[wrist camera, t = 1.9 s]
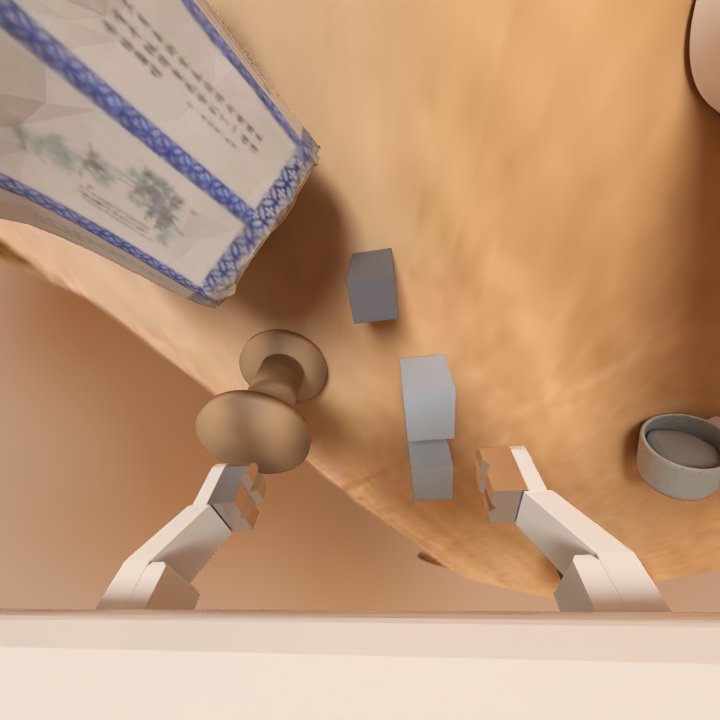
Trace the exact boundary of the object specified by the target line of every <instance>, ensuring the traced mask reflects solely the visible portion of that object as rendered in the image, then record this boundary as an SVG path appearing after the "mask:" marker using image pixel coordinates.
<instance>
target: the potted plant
mask: <svg viewBox="0 0 720 720" xmlns="http://www.w3.org/2000/svg"><path fill="white" fill-rule="evenodd" d="M319 149H320V146H318V145H317V144H316V143H315V141H314V140H313V138H312V137H311V136H310V134H309V133H308V132H307V131H306V129H305V128H304V127H303V126H302V125H301V124H300V122H299V121H298V120H297V119H296V118H295V116H294V115H293V114H292V113H291V112H290V110H289V109H288V108H287V107H286V106H285V104H284V103H283V102H282V101H281V100H280V98H279V97H278V96H277V95H276V93H275V92H274V91H273V90H272V88H271V87H270V86H269V85H268V83H267V82H266V81H265V80H264V78H263V77H262V76H261V75H260V73H259V72H258V71H257V70H256V68H255V67H254V66H253V64H252V63H251V62H250V60H249V59H248V58H247V56H246V55H245V54H244V52H243V51H242V49H241V48H240V47H239V45H238V44H237V43H236V41H235V40H234V39H233V37H232V36H231V34H230V33H229V32H228V30H227V29H226V28H225V26H224V25H223V23H222V22H221V21H220V19H219V18H218V17H217V15H216V14H215V12H214V11H213V10H212V8H211V7H210V5H209V4H208V3H207V1H206V0H0V218H1V219H5V220H10V221H15V222H20V223H25V224H29V225H31V226H34V227H36V228H39V229H41V230H44V231H47V232H49V233H52V234H54V235H57V236H60V237H62V238H64V239H66V240H69V241H71V242H73V243H75V244H77V245H80V246H82V247H84V248H86V249H88V250H90V251H93V252H95V253H97V254H99V255H101V256H103V257H105V258H107V259H109V260H111V261H113V262H115V263H117V264H119V265H121V266H122V267H124V268H126V269H128V270H130V271H132V272H134V273H136V274H138V275H141V276H142V277H144V278H146V279H148V280H150V281H152V282H154V283H156V284H158V285H159V286H162V287H164V288H166V289H168V290H170V291H173V292H175V293H177V294H179V295H181V296H183V297H185V298H187V299H189V300H191V301H193V302H195V303H198V304H202V305H205V306H208V307H212V308H215V306H216V305H220V304H221V303H222V302H223V301H224V300H225V299H226V298H228V297H230V296H232V295H234V294H235V291H236V287H237V284H238V281H239V280H240V278H241V276H242V275H243V273H244V272H245V270H246V268H247V267H248V265H249V263H250V262H251V260H252V259H253V257H254V256H255V255H256V253H257V252H258V250H259V249H260V248H261V246H262V245H263V244H264V242H265V241H266V240H267V238H268V237H269V235H270V234H271V233H272V232H273V231H274V230H275V229H276V228H277V227H278V226H279V225H280V224H281V223H283V222H284V221H285V219H286V218H287V216H288V214H289V213H290V211H291V209H292V208H293V206H294V204H295V202H296V199H297V196H298V193H299V192H300V190H301V189H302V187H303V186H304V184H305V183H306V181H307V179H308V177H309V175H310V173H311V171H312V169H313V167H314V166H316V165H318V164H319V158H320V150H319Z"/></svg>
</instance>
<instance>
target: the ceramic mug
mask: <svg viewBox="0 0 720 720" xmlns="http://www.w3.org/2000/svg"><path fill="white" fill-rule="evenodd" d="M636 464H637V468H638V472H639V474H640V476H641V477H642V479H643V480H644V481H645V482H646V483H647V484H648V485H649V486H650V487H651V488H653V489H654V490H656V491H657V492H659V493H661V494H663V495H666V496H668V497H671V498H675V499H679V500H691V501H694V500H699V499H703V498H706V497H708V496H710V495H711V494H713V493H714V492H715V491H716V490H717V489H718V488H719V487H720V417H718V416H713V417H711V418H709V419H707V420H706V419H703V418H700V417H697V416H693V415H687V414H680V413H675V414H674V413H670V414H662V415H658V416H654V417H652V418H650V419H648V420H647V421H646V422H645V423H644V424H643V425H642V427H641V430H640V436H639V443H638V452H637V457H636Z"/></svg>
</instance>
